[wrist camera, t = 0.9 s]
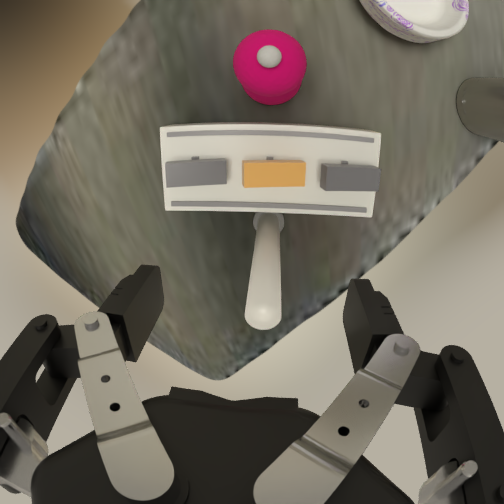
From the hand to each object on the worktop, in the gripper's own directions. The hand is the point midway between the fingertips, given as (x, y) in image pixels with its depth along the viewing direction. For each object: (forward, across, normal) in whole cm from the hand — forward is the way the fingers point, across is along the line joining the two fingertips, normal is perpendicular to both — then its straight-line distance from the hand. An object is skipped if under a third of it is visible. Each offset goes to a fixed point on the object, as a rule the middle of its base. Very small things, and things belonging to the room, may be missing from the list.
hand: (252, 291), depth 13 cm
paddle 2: (+26, -9, 0) cm, 27 cm away
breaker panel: (+32, 0, 0) cm, 32 cm away
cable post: (+32, 0, +9) cm, 33 cm away
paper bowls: (+32, -17, -26) cm, 45 cm away
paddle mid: (+25, 0, 0) cm, 25 cm away
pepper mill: (+32, 0, -11) cm, 34 cm away
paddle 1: (+25, +9, 0) cm, 27 cm away
